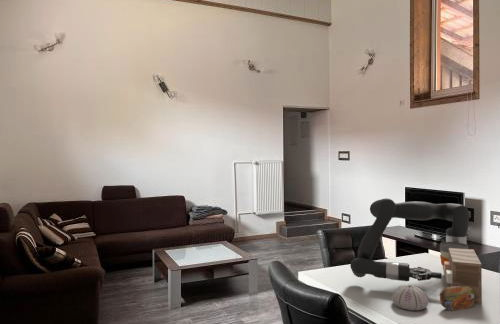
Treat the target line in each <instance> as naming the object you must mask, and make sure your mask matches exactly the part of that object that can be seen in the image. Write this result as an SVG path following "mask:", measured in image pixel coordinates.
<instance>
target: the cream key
mask: <svg viewBox="0 0 500 324" xmlns="http://www.w3.org/2000/svg"><path fill="white" fill-rule="evenodd" d="M445 277H446V278H445V279H446V283H447V284H449V283H452V270H446V276H445Z"/></svg>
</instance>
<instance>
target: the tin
mask: <svg viewBox="0 0 500 324" xmlns="http://www.w3.org/2000/svg"><path fill="white" fill-rule="evenodd" d="M475 300H476V294H475V291H474V289H473V288H471V287H469V286H465V285H460V286H453V287H450V286H447V287H445V288H443V289H441V292H440V293H439V302H440V305H441V306H442V307H443V308H444V309H446V310H448V311H451V312H452V311H458V310H459V311H460V310H464V309H465V310H466V309H470V308H471V307H473V306H474V303H475Z"/></svg>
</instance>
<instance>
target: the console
mask: <svg viewBox="0 0 500 324" xmlns="http://www.w3.org/2000/svg"><path fill="white" fill-rule="evenodd" d="M449 263H450V270H452V283H448V285H449V287H453V286H460V285H465V286H469V287H471V288H473V289H474V291H475V294H476V300H475V303H474V304H477V305H482V304H483V301H482V300H483V299H482V297H483V295H482V291H483V290H482V286H483V284H482V283H483V282H482V277H483V276H482V275H483V274H482V270H483V269H482V267H483V266H482V262H481V260H480V259H479V257H478V255H477V254H476V252H475V249H471V248H470V249H469V248H468V249H458V248H449ZM474 304H473V305H474Z"/></svg>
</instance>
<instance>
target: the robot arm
mask: <svg viewBox="0 0 500 324" xmlns="http://www.w3.org/2000/svg"><path fill="white" fill-rule="evenodd" d="M369 211H370V214H371V215H372V216H373V217H374V218H375V220H374V222H373V223H372V225H371V226H370V227H369V229H368V230H367V231H366V233H365V234H364V236H363V237H362V239H361V242H360V244H359V246H358V249H357V256H356V258H354V259H352V260H351V262H350V269H351V271H352V273H353V275H354V276H355V277H357V278H363V277H365V276H366V275H371V276H374V277H375V278H378V279H387V280H392V281H399V282H410V279H411V278H412V279H414V280H417V282H418V281H419V282H420V281H428V280H430V281H431V279H439V280H440V279H443V275H442V272H438V271H437V272H436V271H432V270H430V269H429V268H424V267H421V266H417V267H413V268H412V267H411V268H410V264H409V263H405V262H393V261H388V262H387V261H375V260H373V256H374V254H375V252H376V249H377V247H378V244H379V242H380V239H381V238H382V236H383V234H384V232H385V230H386V228H387V227H388V225H389V223H390V222H391V220H393V219H396V218H397V219H402V220H404V219H405V220H411V221H412V220H413V221H429V220H433V219H438V220H439V219H440V220H446V221H448V222H452V226H451V227H449V228H447V229H446V230H445V235H446V236H445V242H458V243H463V244H466V245H468V244H467V234H468V230H469V220H470V218H469V217H470V214H469V209H468V208H467V206H465V205H463V204H460V203H432V202H427V201H415V200H414V201H403V202H395V201H394V200H393V199H391V198H386V197H385V198H381V199H378V200H375V201H373V202H372V203H371V205H370V206H369Z"/></svg>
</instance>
